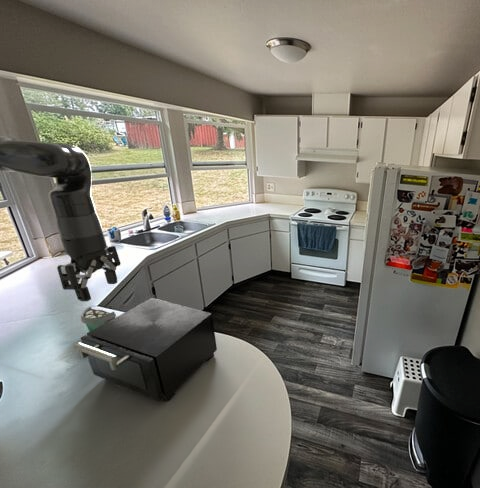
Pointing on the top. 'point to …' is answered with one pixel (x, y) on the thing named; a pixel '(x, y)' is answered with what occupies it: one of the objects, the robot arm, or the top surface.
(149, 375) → the oven door
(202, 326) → the oven
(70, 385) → the top surface
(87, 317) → the food container
